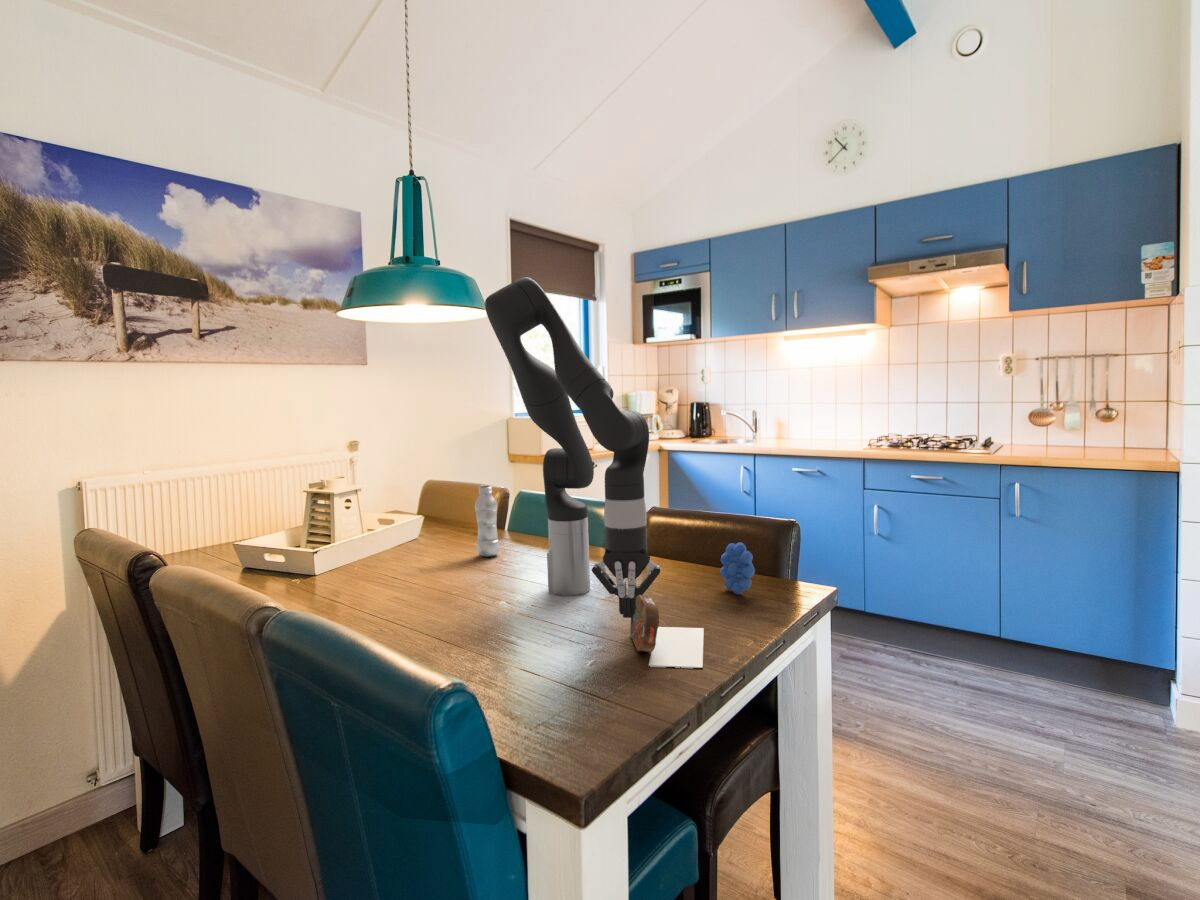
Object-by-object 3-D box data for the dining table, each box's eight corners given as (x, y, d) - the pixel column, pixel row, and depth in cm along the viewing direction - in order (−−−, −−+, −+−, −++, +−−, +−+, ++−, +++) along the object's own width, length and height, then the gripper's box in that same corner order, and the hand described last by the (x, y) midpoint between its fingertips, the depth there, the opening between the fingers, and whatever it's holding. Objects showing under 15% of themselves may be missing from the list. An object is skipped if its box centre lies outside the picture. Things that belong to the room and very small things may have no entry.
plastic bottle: (504, 553, 194) (501, 484, 192) (493, 559, 188) (489, 488, 186) (484, 552, 196) (481, 484, 194) (472, 558, 190) (469, 488, 188)
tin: (628, 630, 130) (632, 587, 130) (644, 631, 131) (648, 588, 130) (639, 659, 115) (643, 610, 115) (657, 660, 116) (662, 611, 115)
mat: (648, 666, 114) (648, 665, 114) (657, 628, 132) (656, 626, 132) (702, 668, 112) (702, 667, 112) (703, 629, 130) (703, 628, 130)
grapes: (769, 598, 147) (769, 544, 146) (743, 603, 145) (742, 548, 144) (738, 584, 158) (738, 534, 157) (713, 588, 155) (713, 537, 154)
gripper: (585, 526, 119) (588, 622, 120) (660, 527, 116) (662, 624, 118) (592, 518, 126) (595, 608, 128) (663, 518, 124) (665, 610, 125)
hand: (627, 616), depth 123 cm, fingers closed
